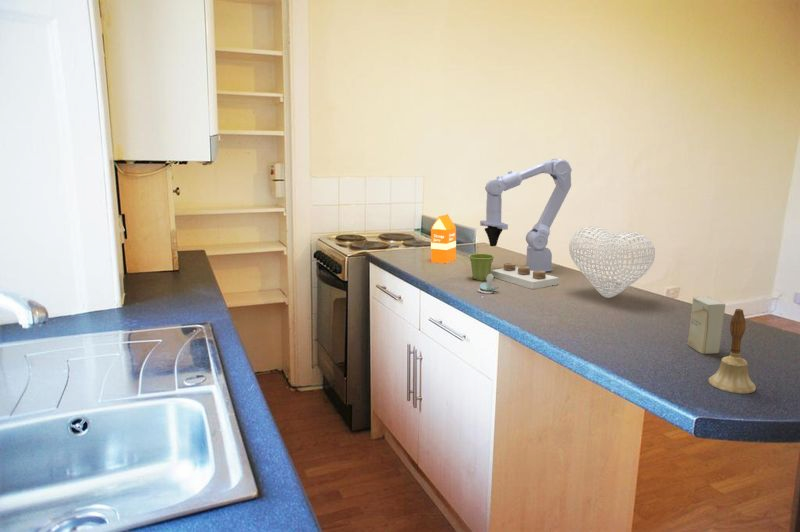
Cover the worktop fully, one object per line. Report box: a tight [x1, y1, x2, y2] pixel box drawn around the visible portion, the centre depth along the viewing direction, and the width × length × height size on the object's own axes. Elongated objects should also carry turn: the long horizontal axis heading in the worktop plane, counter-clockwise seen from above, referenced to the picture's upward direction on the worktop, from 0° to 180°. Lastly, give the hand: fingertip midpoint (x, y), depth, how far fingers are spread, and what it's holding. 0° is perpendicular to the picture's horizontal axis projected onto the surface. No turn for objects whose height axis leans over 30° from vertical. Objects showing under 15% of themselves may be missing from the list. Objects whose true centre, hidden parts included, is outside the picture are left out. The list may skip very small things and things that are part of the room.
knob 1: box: [503, 262, 517, 271], centre depth 209 cm, size 4×4×5 cm
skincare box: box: [687, 296, 726, 355], centre depth 130 cm, size 6×4×12 cm
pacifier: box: [477, 273, 499, 295], centre depth 187 cm, size 7×6×6 cm
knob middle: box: [518, 265, 530, 275], centre depth 202 cm, size 4×4×5 cm
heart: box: [568, 225, 656, 299], centre depth 175 cm, size 28×16×22 cm, turn 31°
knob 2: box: [533, 270, 546, 279], centre depth 195 cm, size 4×4×5 cm
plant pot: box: [468, 253, 495, 281], centre depth 206 cm, size 9×9×9 cm
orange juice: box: [430, 213, 457, 264], centre depth 238 cm, size 8×9×20 cm
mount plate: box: [490, 266, 560, 290], centre depth 202 cm, size 12×23×2 cm, turn 29°
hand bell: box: [708, 308, 757, 395], centre depth 110 cm, size 8×8×16 cm
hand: (493, 246), depth 215 cm, fingers closed
